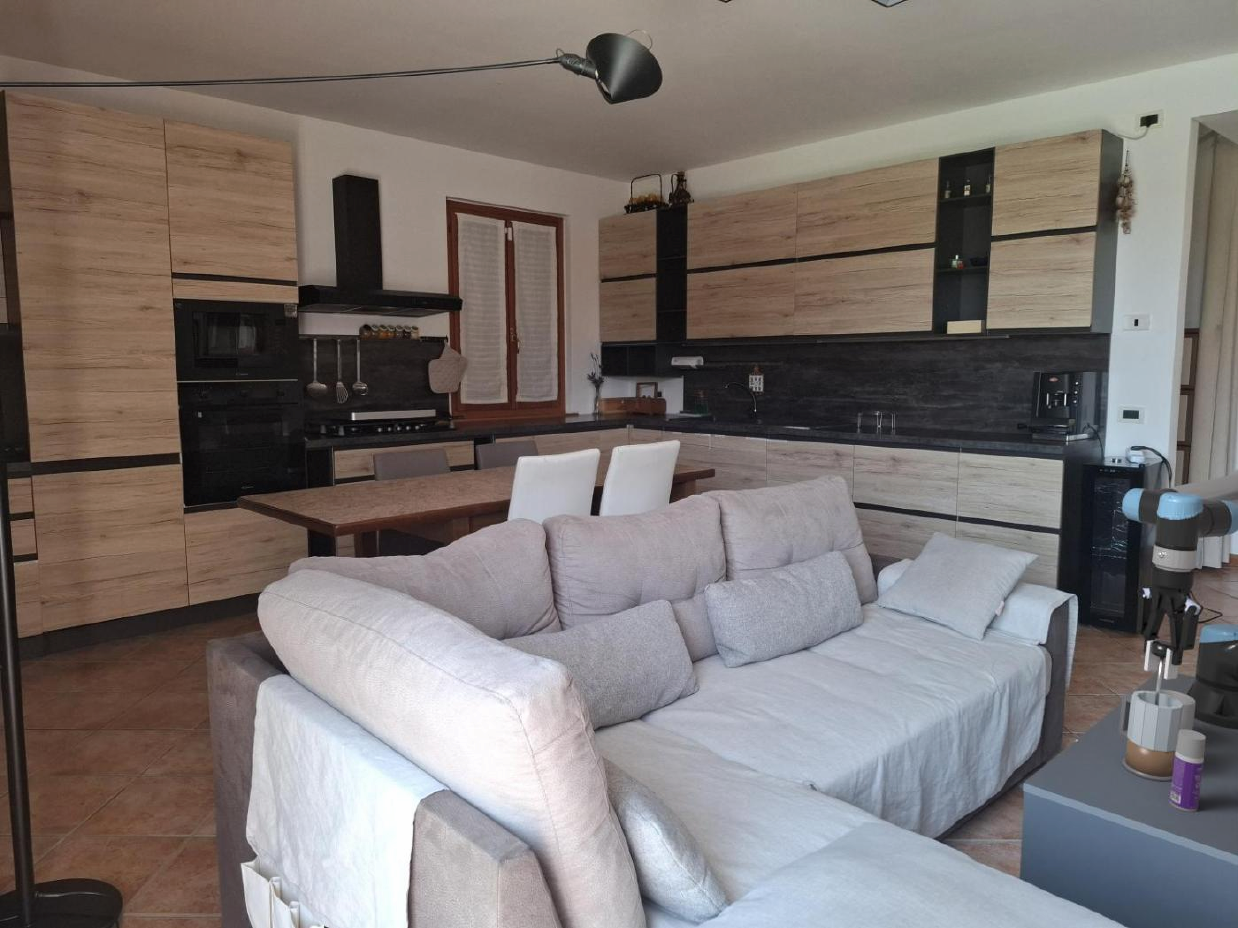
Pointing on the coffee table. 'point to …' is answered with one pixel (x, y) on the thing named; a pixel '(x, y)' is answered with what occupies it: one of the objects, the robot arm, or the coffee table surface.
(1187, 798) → the container
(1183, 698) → the mug
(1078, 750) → the coffee table surface
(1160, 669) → the plunger
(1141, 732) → the carafe
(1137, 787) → the coffee table surface
